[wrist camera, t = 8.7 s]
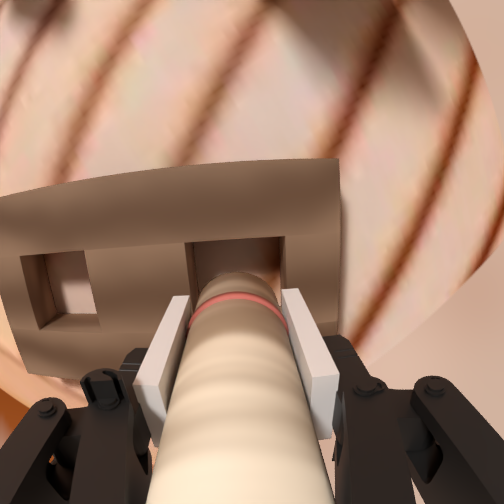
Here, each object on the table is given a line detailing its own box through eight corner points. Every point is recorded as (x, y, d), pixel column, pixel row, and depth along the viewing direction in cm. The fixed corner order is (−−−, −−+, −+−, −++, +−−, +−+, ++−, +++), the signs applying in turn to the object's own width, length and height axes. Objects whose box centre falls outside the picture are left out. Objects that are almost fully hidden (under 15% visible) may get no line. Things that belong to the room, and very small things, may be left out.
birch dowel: (189, 272, 15) (99, 504, 3) (279, 266, 15) (371, 498, 3) (200, 348, 16) (165, 573, 4) (280, 343, 16) (334, 566, 4)
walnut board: (6, 196, 19) (-18, 201, 16) (324, 159, 19) (338, 158, 17) (43, 355, 22) (28, 373, 20) (323, 351, 23) (333, 374, 20)
